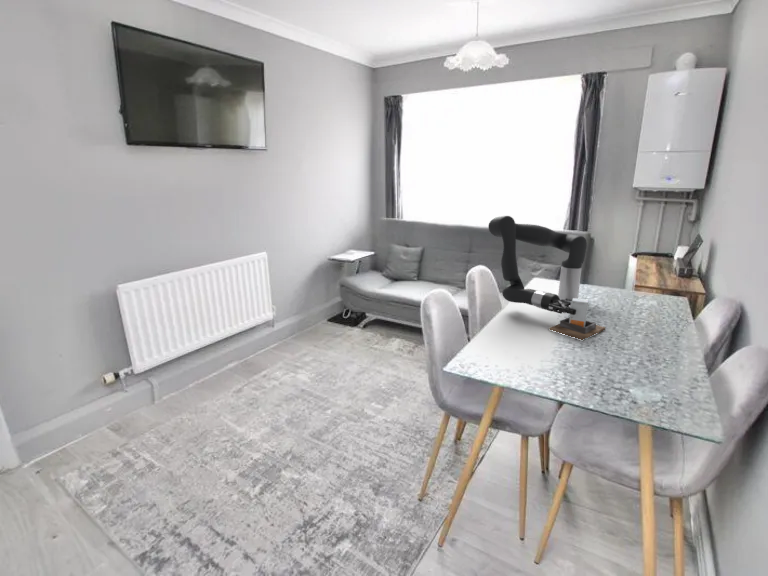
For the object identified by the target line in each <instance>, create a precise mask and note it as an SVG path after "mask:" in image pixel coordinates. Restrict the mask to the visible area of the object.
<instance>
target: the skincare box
mask: <svg viewBox="0 0 768 576" xmlns="http://www.w3.org/2000/svg"><path fill="white" fill-rule="evenodd" d="M589 302H590V301H589V299H584V298H578V299H577V298H573V299H572V305H571V308H572V309H575V310H576V314H575V315H572V314H569V317H570V319H569V323H571V324H575V325H578V326H581V327H585V323H586V321H587V316H588V309H589Z"/></svg>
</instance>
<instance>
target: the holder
mask: <svg viewBox="0 0 768 576" xmlns="http://www.w3.org/2000/svg"><path fill="white" fill-rule="evenodd" d="M569 319H570V316H568V317H567V318H564V319H561V320H560V321H559V323H557V324H555V325H552V326H550V327H549V329H550V330H553V331H556V332H559V333H562V334H565V335H568V336H571V337H575V338H578V339H581V340H583V339H585V338H588V337H590V336H592V335H594V334H596V333H598V334H600V333H602V332H604V331H603V330H605V331H606V327H605V326H602V325H598V324H597V323H596V322H592V321H589V320H586V323H585V327H581V326H578V325H575V324H571V323H569ZM549 329H548V330H549ZM601 331H602V332H601ZM556 332H555V333H556ZM599 332H600V333H599ZM559 333H558V334H559ZM562 334H561V335H562ZM565 335H564V336H565ZM596 335H597V334H596ZM568 336H567V337H568ZM594 336H595V335H594ZM571 337H570V338H571ZM592 337H593V336H592ZM590 338H591V337H590ZM588 339H589V338H588ZM585 340H586V339H585ZM583 341H584V340H583Z"/></svg>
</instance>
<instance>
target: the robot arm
mask: <svg viewBox="0 0 768 576" xmlns="http://www.w3.org/2000/svg"><path fill="white" fill-rule="evenodd" d="M488 231H489V232H490V234H492V236H495V237H499V238H502V241H503V242H502V243H503V249H502V250H503V251H502V254H501V262H500V263H501V264H500V265H501V272H502V278H503V280H504V281H506V282H509V284H510V285H508V286H506V287H505V288H504V289H503V290H502V292H501V293H502V297H503V298H504V299H505V301H507V302H510V303H515V304H516V303H517V304H519V303H520V304H527V305H530V306H533V307H536V308H537V309H542V310H545V311H548V312H553V313H556V314H568V315H570V314H572V315H575V314H576V310H575V309H572V308H571V305H572V299H573V298H577V299H579V295H580V294H579V293H580V287H581V285H580V284H581V274H582V266H583V264H584V262H585V259H586V257H585V256H586V253H587V247H588V242H587V239H586V237H584V236H582V235H578V234H574V233H573V234H572V233H561V232H556V231H554V230H552V229H551V228H548V227H546V226H541V225H539V224H538V225H537V224H531V223H530V224H529V223H516V221H515V219H514V218H513V217H512V216H511V215H502V216H497V217H495V218H493V219H491V220H490V221H489V223H488ZM517 241H520V242H522V243H523V242H524V243H527V244H530V245H534V246H538V247H552V248H555V249H558V250H561V251H563V252H565V253H568V258H566V259H563V260H562V261H561V268H560V276H559V285H558V292H557V294H555V293H551V292H547V291H543V290H538V289H532V288H525V286H524V284H523V281H522V279H521V277H520V274H519V268H518V263H517V261H518V260H517V248H516V247H517V245H516V244H517Z"/></svg>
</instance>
